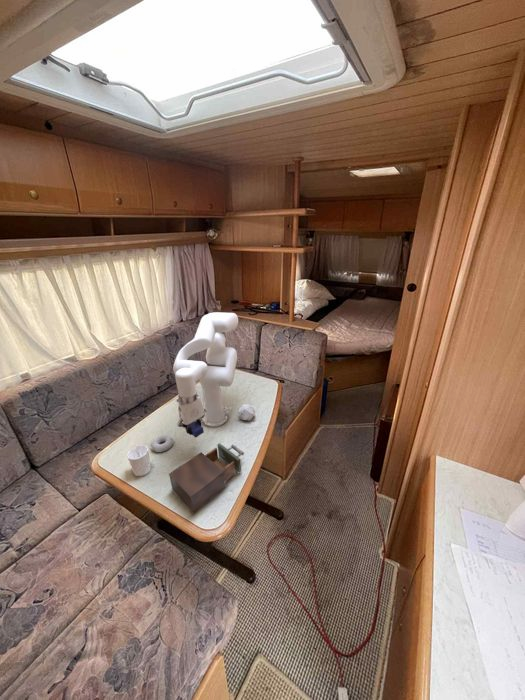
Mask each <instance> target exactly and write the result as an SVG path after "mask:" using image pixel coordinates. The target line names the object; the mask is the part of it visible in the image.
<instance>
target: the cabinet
mask: <svg viewBox="0 0 525 700" xmlns="http://www.w3.org/2000/svg"><path fill="white" fill-rule="evenodd" d="M205 455H206V454H204V453H203V452H199V453H198V454H196V455H195V456H193V457H191V458H190V459H188V460H187V461H186V462H184V463H182V464H181V465H179V466H178V467H176V468H175V469H173V470H172V471H170V472H169V473H168V477H169V482H170V485H171V489H172V491H173V492H174V494H175V495H176V496H177V497H178V498H179V500H180V501H182V502H183V504H184V505H185V506H186V507H187V509H189V511H190V512H191V513H192V514H196V513H197V512H198V511H199V510H201V509H202V508H203V507H204V506H206V504H208V503H209V502H210V501H211V500H213V499H214V498H215V497H216V496H217V495H219V494H220V493H221V492H222V491H224V490H225V489H226V481H225V479H224V471H223V470H221V469H220V468H219V467H218V466H217V465H216V464H214V463H213V462H212V461H211V460H210V459H209V458H207V457H206V456H205Z"/></svg>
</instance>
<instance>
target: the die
mask: <svg viewBox="0 0 525 700" xmlns="http://www.w3.org/2000/svg"><path fill="white" fill-rule="evenodd" d="M255 413H256V410H255V408H254V406H253V404H249V403H242V404H241V405H240V407H239V410H238V411H237V415H238V416H239V418H240V420H242V421H252V420H253V417H254V415H255Z"/></svg>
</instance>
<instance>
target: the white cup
mask: <svg viewBox="0 0 525 700" xmlns="http://www.w3.org/2000/svg"><path fill="white" fill-rule="evenodd" d="M126 457H127V459H128V462H129V464H130V467H131V470H132V472H133V474H134V475H135V476H137V477H143V476H145V475H147V474H148V473H149V472H150V471H151V467H152V466H151V459H150V454H149V449H148V446H146V445H143V444H141V445H136V446H134V447H132V448H130V449H129V451H128V452H127V455H126Z"/></svg>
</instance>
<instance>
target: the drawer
mask: <svg viewBox="0 0 525 700" xmlns="http://www.w3.org/2000/svg"><path fill="white" fill-rule="evenodd" d="M216 445H217V447H214V448H213V449H212V450H210V451H208V452H207V453H206V454H204V455H205V456H206V457H207V458H209V459H210V460H211V461H212V462H213V463H214V464H216V465H217V466H218V467H219V468H220V469H221V470H223V471H224V479H225V482H227V481H228V480H229V479H231V478H232V477H233V476H234V475H236V472H238V473H239V474H240V473H241V472H242V464H241V461H242V460H241V458H240V457H241V456H244V455H245V452H244V451H243V450H241V449H240V448H238V447H237V446H236V445H234V444H231V445H230V447H228V448H227V447H225V446H224V445H223V444H222V443H221V442H219V443H218V444H216ZM231 450H234V451H236V452H237V453H238V455H236V454H235V453H234V452H232V451H231ZM223 461H224V462H223Z"/></svg>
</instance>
